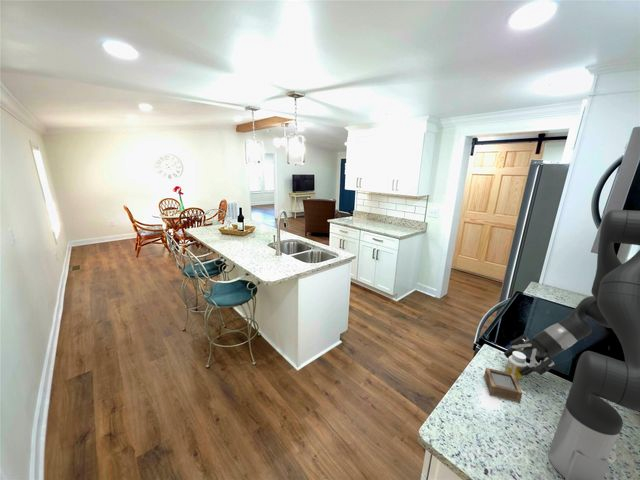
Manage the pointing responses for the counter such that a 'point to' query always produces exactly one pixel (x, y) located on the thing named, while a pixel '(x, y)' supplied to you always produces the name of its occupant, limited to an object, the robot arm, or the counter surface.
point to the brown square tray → (501, 390)
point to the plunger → (502, 380)
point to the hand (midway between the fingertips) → (512, 364)
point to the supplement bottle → (516, 364)
